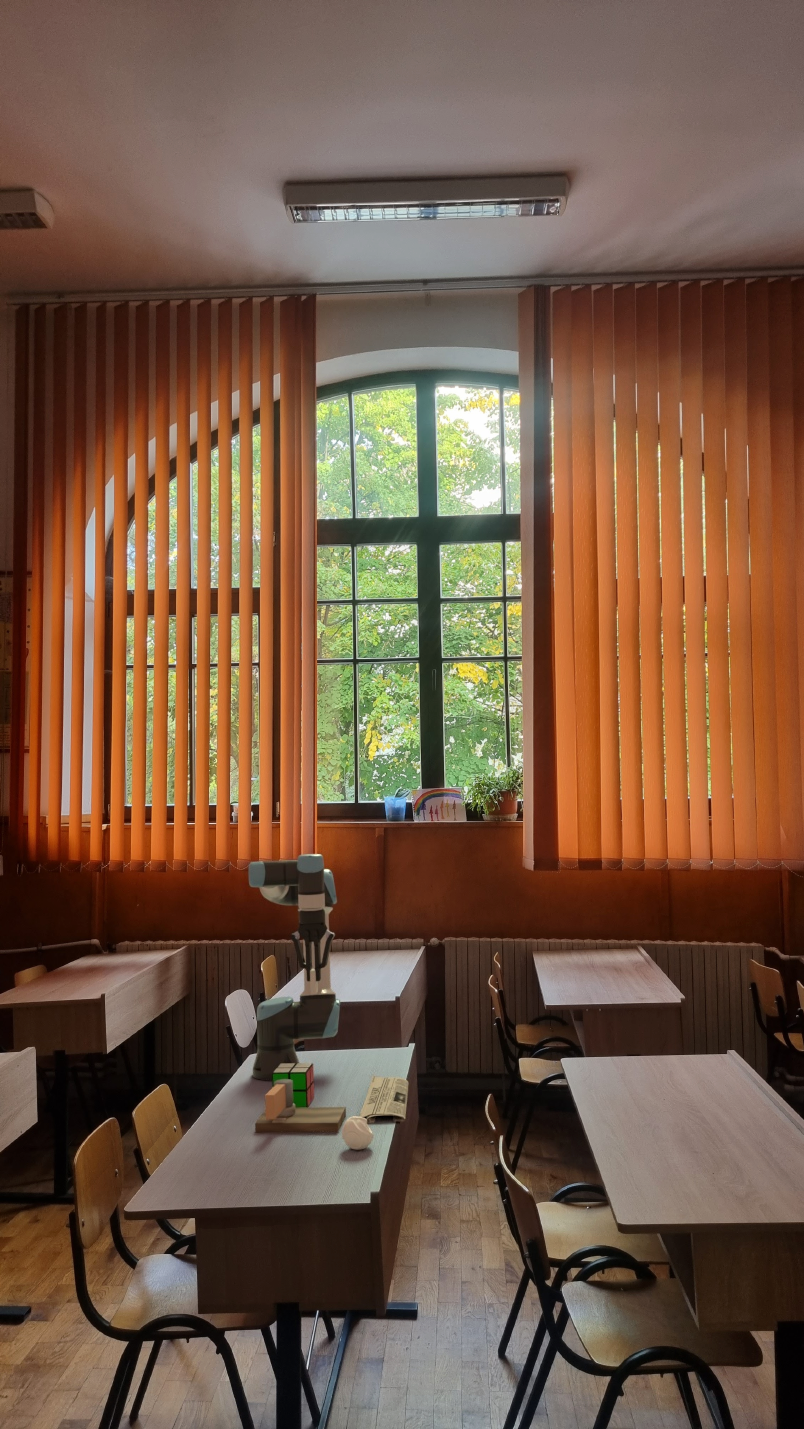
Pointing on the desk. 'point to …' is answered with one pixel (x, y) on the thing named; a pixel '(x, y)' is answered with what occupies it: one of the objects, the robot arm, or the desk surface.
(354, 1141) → the baseball
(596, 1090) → the desk surface
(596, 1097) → the desk surface
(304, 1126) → the plate
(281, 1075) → the puzzle cube
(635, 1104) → the desk surface
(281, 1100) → the lever
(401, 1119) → the newspaper
